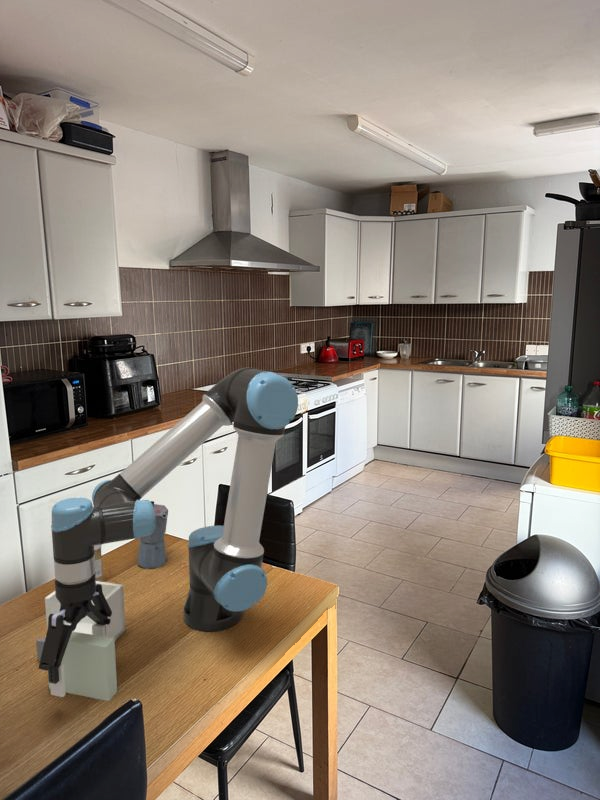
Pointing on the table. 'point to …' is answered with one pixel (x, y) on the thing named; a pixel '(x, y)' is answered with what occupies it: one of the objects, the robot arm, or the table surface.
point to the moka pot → (154, 541)
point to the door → (90, 666)
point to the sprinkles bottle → (98, 563)
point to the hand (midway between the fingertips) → (80, 672)
